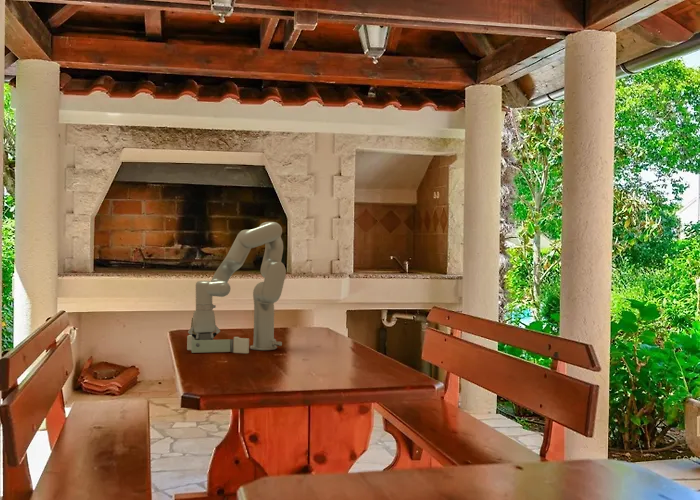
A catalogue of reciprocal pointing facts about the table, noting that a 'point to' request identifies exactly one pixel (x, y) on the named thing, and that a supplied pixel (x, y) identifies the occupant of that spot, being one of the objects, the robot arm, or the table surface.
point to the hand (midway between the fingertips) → (204, 347)
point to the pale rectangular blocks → (239, 344)
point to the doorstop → (205, 336)
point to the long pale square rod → (212, 345)
